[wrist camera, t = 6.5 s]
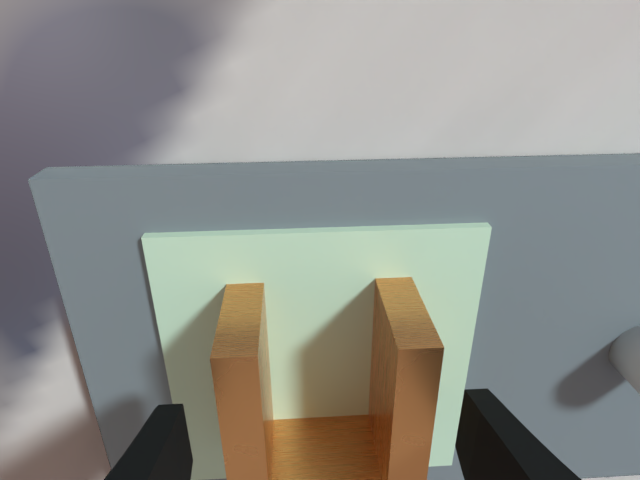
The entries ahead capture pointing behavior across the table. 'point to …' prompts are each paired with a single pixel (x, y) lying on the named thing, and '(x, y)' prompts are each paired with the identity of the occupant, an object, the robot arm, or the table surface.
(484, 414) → the robot arm
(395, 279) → the c link
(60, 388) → the table surface
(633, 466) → the peg board
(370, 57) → the table surface
